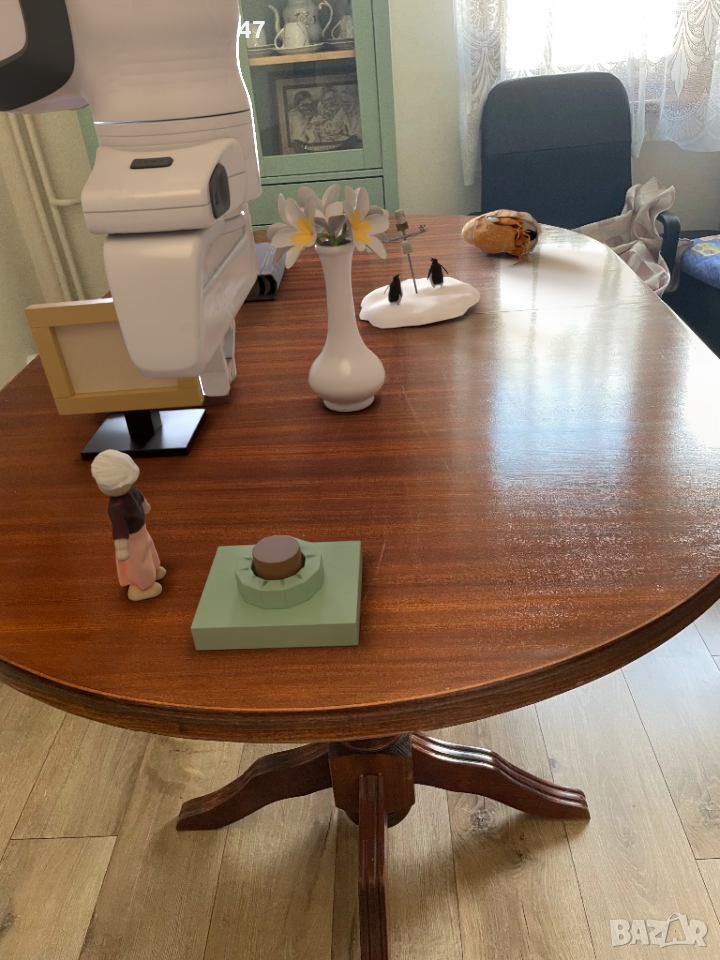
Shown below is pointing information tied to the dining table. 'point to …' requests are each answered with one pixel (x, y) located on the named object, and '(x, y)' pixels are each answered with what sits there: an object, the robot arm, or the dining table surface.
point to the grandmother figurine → (128, 524)
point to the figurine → (417, 293)
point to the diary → (266, 273)
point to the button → (277, 557)
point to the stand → (147, 433)
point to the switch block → (281, 600)
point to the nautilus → (503, 232)
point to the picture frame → (98, 362)
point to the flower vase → (336, 285)
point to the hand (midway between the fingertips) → (221, 387)
